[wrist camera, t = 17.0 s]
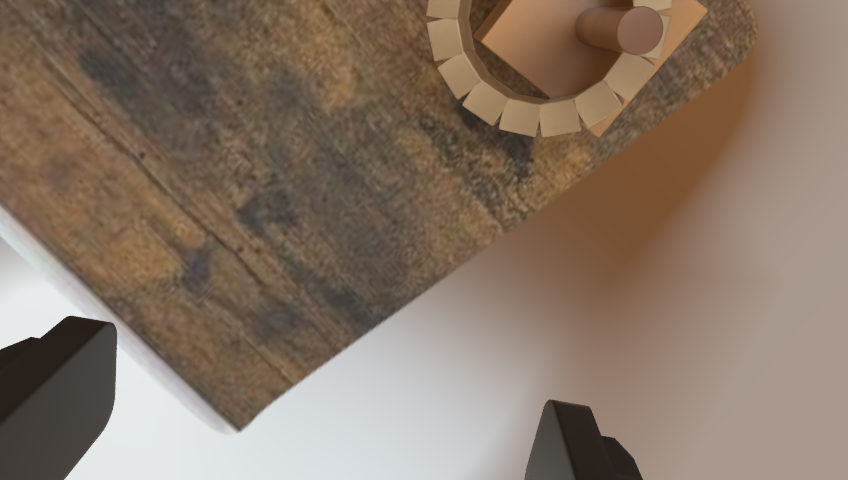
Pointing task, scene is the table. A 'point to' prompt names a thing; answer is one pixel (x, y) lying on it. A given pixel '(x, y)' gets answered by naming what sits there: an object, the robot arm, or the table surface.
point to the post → (580, 40)
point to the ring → (521, 110)
